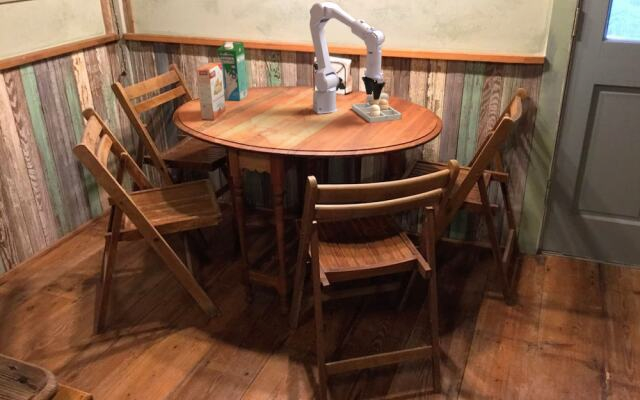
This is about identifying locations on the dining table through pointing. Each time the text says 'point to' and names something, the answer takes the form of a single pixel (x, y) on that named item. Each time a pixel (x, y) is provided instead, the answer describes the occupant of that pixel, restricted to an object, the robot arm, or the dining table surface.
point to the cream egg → (374, 111)
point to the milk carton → (233, 70)
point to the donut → (382, 96)
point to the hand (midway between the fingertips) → (372, 96)
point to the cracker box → (211, 90)
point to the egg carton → (386, 115)
